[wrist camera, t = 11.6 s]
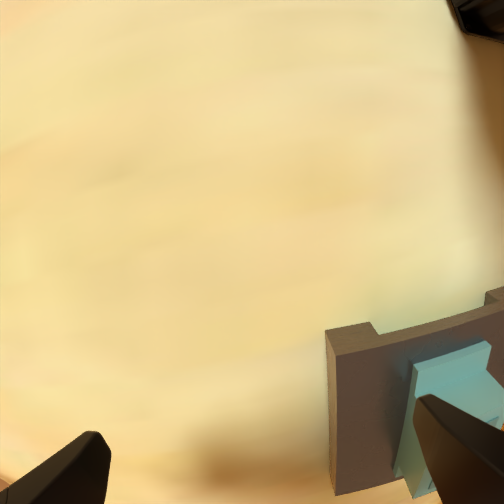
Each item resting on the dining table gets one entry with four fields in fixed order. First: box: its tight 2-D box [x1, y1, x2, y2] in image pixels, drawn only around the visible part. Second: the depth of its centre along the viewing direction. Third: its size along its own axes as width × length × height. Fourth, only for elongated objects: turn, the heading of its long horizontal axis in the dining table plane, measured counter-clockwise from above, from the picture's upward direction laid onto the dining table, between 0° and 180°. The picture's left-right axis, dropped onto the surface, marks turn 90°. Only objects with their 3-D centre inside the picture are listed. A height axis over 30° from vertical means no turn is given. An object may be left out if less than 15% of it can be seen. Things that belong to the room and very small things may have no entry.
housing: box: [393, 341, 504, 499], centre depth 16 cm, size 12×6×5 cm, turn 9°
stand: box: [325, 287, 504, 496], centre depth 20 cm, size 16×16×3 cm
